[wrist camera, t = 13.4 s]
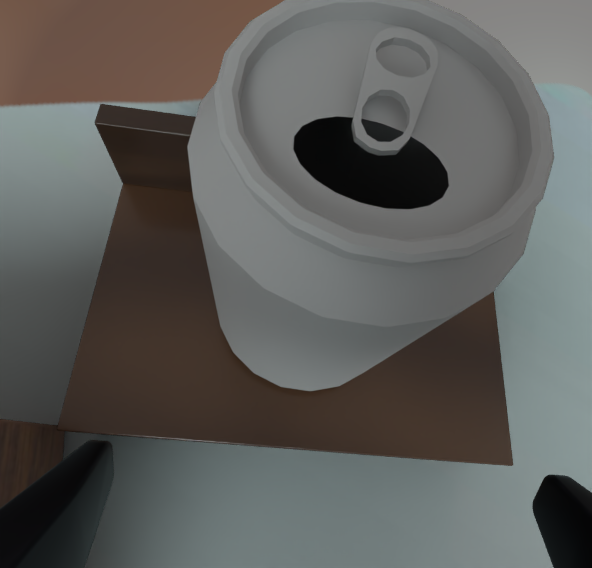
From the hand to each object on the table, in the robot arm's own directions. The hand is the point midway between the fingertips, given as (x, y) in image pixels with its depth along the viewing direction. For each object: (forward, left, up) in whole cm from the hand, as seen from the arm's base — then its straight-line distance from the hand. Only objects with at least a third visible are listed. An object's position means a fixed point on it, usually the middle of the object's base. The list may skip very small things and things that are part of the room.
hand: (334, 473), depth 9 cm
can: (+6, +3, -8) cm, 10 cm away
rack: (+6, +3, -12) cm, 14 cm away
